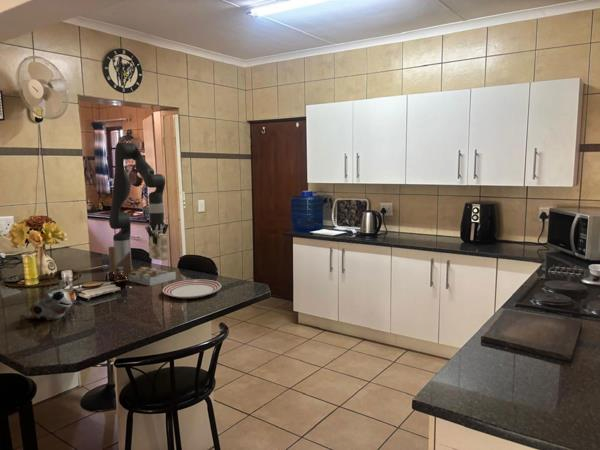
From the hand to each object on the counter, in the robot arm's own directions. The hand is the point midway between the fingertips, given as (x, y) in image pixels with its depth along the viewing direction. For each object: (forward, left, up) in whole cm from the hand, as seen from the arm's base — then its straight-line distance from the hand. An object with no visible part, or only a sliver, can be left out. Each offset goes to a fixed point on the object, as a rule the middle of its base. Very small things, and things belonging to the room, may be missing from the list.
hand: (157, 243), depth 239 cm
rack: (0, -5, -19) cm, 20 cm away
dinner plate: (+37, -9, -20) cm, 43 cm away
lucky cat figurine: (+16, -64, -19) cm, 69 cm away
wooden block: (-16, -13, -19) cm, 28 cm away
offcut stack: (0, -8, -19) cm, 21 cm away
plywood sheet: (0, 0, -9) cm, 9 cm away
